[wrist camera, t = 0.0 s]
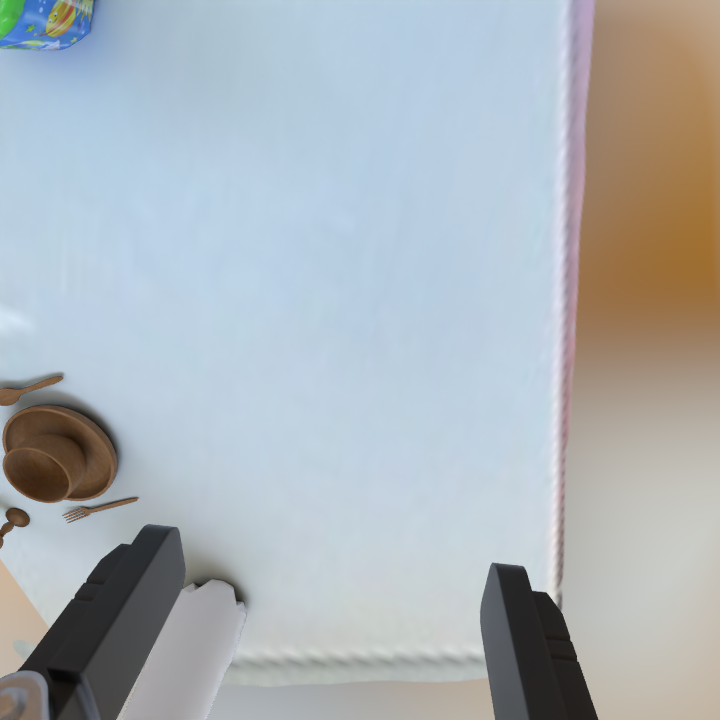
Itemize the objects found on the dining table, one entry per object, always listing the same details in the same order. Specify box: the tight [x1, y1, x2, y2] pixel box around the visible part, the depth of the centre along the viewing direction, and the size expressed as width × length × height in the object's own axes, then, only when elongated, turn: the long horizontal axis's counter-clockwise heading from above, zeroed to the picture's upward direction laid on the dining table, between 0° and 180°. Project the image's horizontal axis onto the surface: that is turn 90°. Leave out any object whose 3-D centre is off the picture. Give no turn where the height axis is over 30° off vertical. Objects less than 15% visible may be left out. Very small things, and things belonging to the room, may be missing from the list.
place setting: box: [0, 376, 137, 549], centre depth 47 cm, size 18×20×6 cm
